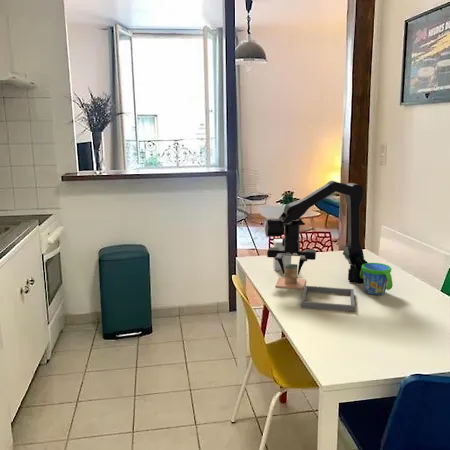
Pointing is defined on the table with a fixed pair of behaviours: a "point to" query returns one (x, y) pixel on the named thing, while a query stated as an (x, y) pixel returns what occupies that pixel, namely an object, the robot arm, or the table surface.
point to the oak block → (291, 274)
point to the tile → (281, 284)
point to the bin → (328, 305)
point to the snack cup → (376, 278)
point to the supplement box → (286, 257)
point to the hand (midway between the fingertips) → (291, 274)
